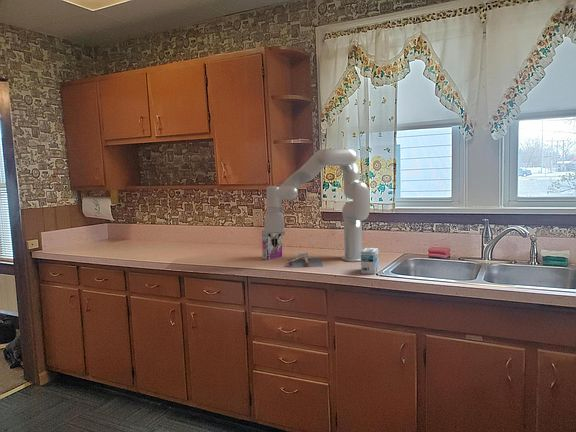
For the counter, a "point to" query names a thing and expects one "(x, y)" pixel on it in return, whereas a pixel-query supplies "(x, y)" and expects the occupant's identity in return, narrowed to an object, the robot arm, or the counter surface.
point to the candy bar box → (271, 247)
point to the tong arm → (294, 261)
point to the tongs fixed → (306, 261)
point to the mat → (312, 263)
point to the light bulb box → (369, 260)
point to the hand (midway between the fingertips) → (274, 246)
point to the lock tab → (303, 254)
